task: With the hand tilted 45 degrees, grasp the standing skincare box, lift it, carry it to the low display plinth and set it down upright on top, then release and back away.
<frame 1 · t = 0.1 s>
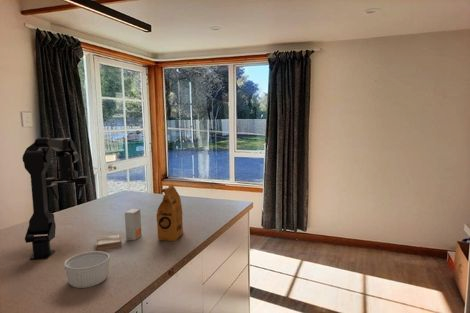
hand: (68, 199, 150), 15 cm above the kitchen island, tool pointing down, fingers open, 9 cm apart
skincare box: (134, 238, 140), on the kitchen island
coffee package: (170, 236, 141), on the kitchen island
ramekin: (89, 280, 105), on the kitchen island
plinth: (109, 245, 132), on the kitchen island
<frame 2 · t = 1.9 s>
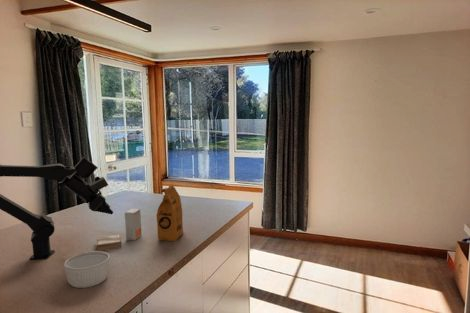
hand: (110, 210, 134), 13 cm above the kitchen island, tool tilted 45°, fingers open, 9 cm apart
nothing on the kitchen island moved.
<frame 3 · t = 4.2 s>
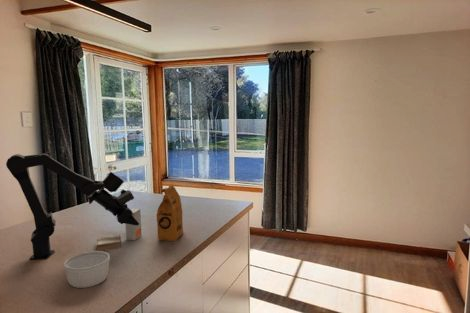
hand: (136, 222, 140), 7 cm above the kitchen island, tool tilted 45°, fingers closed on skincare box, 7 cm apart
skincare box: (134, 238, 140), on the kitchen island, touching gripper
everything else where it was.
when the fingers open (10 cm above the kitchen island, at t = 7.5 s): skincare box drops 1 cm, resting on plinth.
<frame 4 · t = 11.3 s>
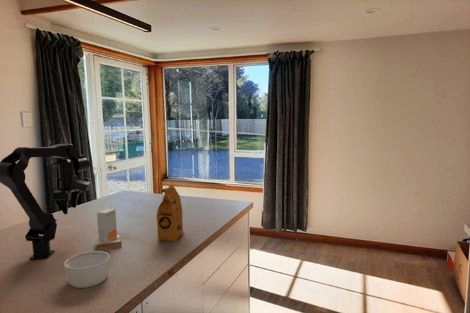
hand: (70, 210, 137), 13 cm above the kitchen island, tool pointing down, fingers open, 9 cm apart
skincare box: (108, 240, 132), point 2 cm above the kitchen island, touching plinth
everything else where it was.
at the end: skincare box inside the target area on the plinth (0.2 cm from its centre), point 2.3 cm above the plinth's base; skincare box tilted 0°; the gripper is holding nothing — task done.
